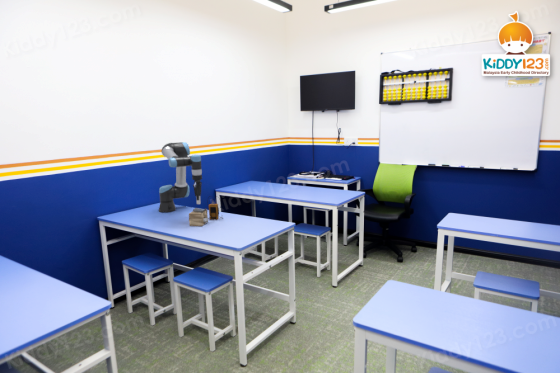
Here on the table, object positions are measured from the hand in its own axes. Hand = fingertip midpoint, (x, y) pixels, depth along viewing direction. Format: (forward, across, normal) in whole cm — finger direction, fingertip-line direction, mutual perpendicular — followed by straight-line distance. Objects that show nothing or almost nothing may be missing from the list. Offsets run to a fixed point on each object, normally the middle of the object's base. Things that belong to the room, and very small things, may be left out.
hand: (198, 203), depth 280 cm
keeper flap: (+6, 0, 0) cm, 6 cm away
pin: (+16, 0, 0) cm, 16 cm away
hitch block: (+16, 0, -1) cm, 16 cm away
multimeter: (+17, -16, +7) cm, 25 cm away
